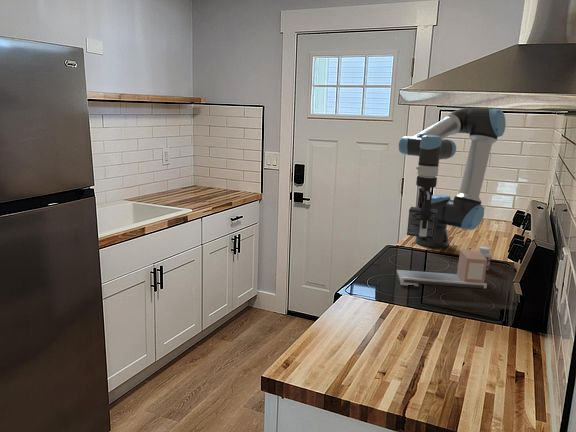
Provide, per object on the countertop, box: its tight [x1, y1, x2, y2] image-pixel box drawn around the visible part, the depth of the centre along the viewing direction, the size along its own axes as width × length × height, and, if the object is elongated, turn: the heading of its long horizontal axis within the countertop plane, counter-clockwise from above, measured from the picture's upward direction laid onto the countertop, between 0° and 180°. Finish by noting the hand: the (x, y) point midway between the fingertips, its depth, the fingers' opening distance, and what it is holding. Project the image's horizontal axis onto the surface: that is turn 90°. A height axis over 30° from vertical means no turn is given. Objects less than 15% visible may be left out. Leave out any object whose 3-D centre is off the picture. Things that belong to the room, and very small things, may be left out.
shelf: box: [395, 269, 488, 289], centre depth 179 cm, size 13×30×3 cm, turn 85°
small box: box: [406, 206, 438, 238], centre depth 190 cm, size 11×6×10 cm, turn 69°
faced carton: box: [456, 249, 487, 283], centre depth 178 cm, size 10×7×10 cm
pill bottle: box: [478, 246, 492, 271], centre depth 193 cm, size 5×5×10 cm
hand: (420, 233), depth 191 cm, fingers closed on small box, 7 cm apart
